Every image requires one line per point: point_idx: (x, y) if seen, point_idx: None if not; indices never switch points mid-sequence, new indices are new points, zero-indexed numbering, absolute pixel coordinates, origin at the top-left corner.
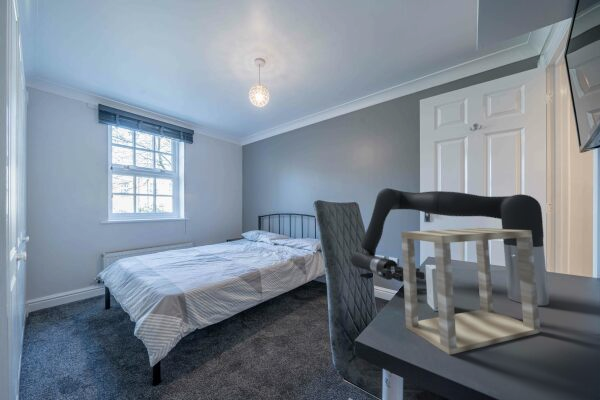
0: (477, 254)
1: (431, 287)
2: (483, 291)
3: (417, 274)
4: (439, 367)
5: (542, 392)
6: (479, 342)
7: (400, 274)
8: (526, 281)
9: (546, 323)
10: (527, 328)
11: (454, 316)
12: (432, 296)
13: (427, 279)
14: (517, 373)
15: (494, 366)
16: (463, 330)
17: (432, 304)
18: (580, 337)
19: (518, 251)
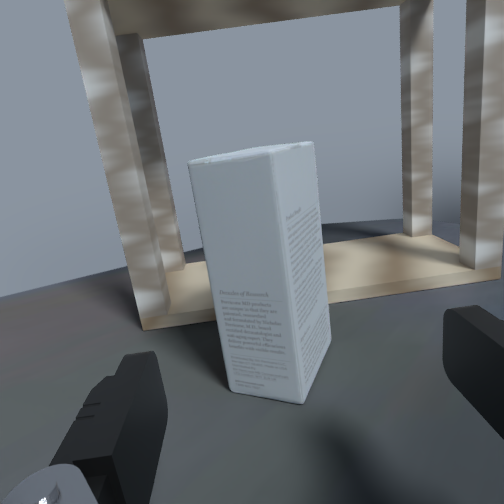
0: (120, 93)
1: (318, 250)
2: (155, 242)
3: (142, 446)
4: (455, 228)
5: (342, 223)
6: (345, 241)
7: (481, 320)
8: (164, 160)
9: (93, 294)
10: (192, 265)
11: (402, 173)
12: (324, 287)
13: (296, 243)
14: (341, 231)
15: (362, 234)
16: (344, 256)
17: (326, 328)
18: (126, 270)
19: (146, 80)
